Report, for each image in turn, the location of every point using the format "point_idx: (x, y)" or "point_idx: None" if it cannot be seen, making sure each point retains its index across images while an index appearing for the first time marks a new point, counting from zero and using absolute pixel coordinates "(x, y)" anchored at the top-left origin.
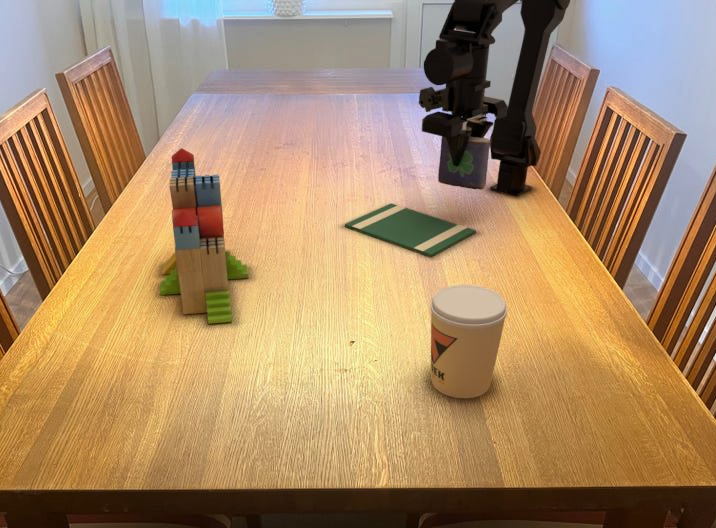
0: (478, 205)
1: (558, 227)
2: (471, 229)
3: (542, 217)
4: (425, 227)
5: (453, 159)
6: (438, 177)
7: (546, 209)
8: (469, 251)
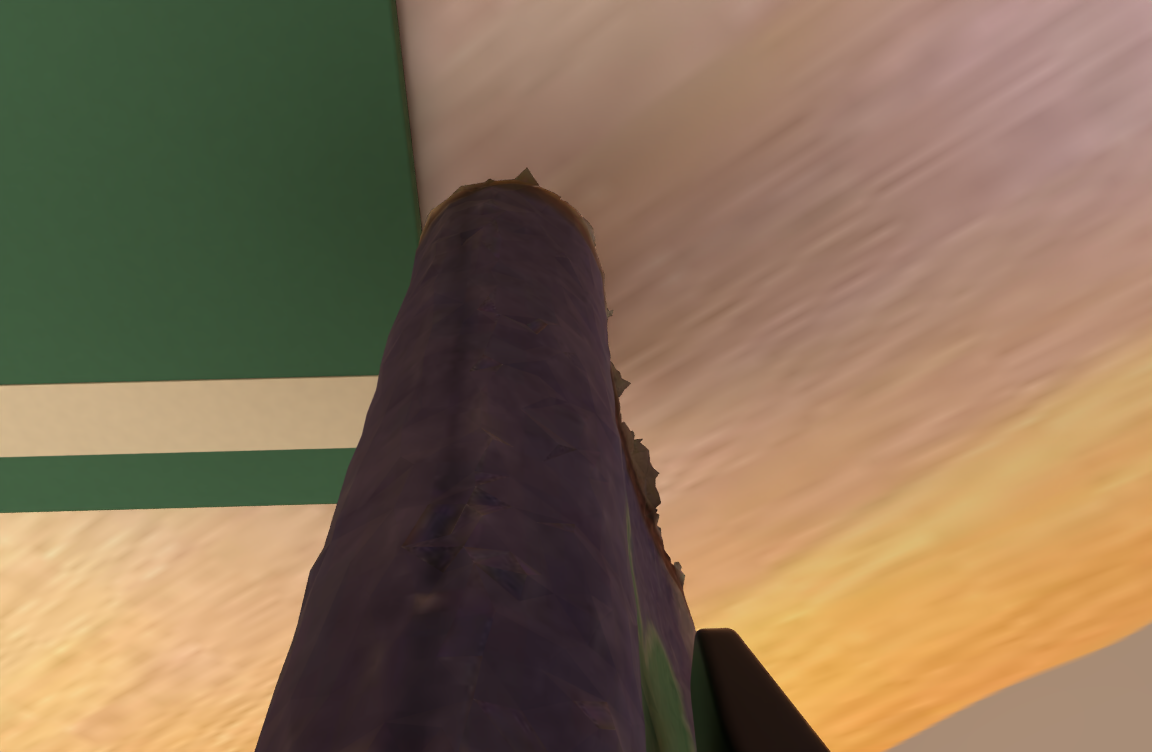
0: (972, 211)
1: (870, 719)
2: None
3: (974, 615)
4: (159, 220)
5: None
6: (443, 214)
7: (1130, 576)
8: (199, 591)
